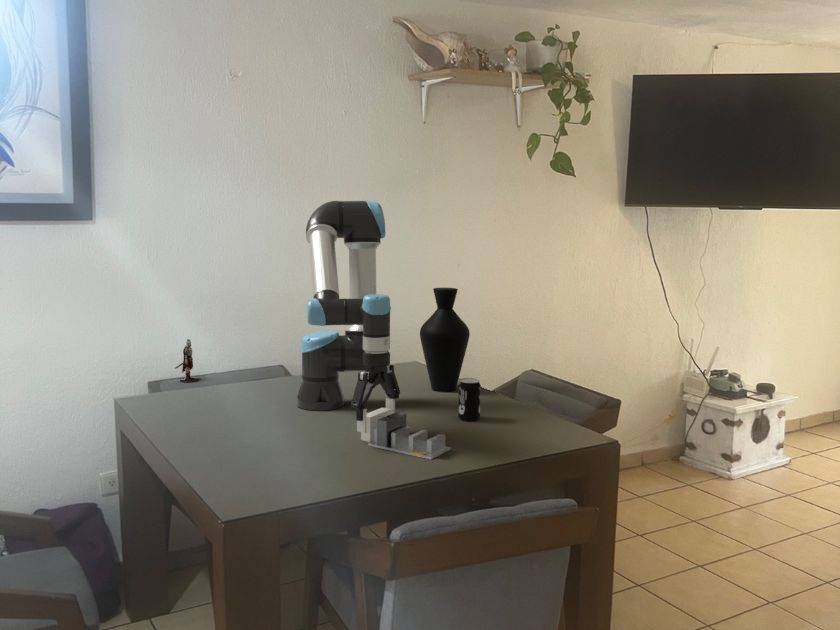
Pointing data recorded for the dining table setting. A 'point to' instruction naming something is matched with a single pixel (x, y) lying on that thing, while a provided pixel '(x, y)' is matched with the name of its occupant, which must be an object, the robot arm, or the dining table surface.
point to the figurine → (187, 363)
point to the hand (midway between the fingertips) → (376, 426)
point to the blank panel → (374, 422)
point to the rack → (406, 438)
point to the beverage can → (469, 399)
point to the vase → (444, 342)
